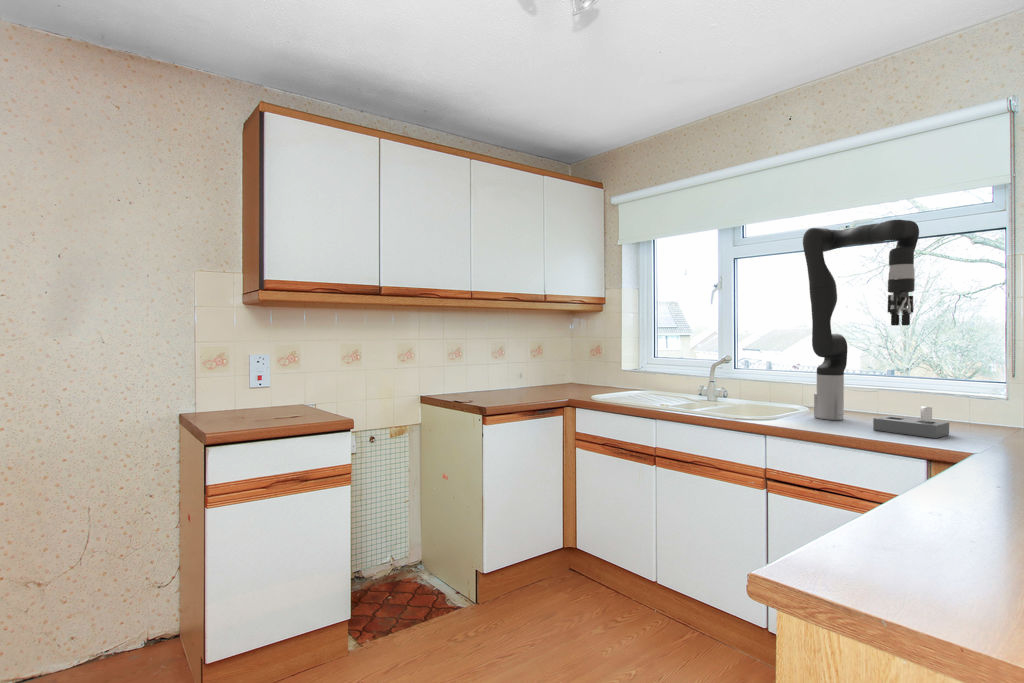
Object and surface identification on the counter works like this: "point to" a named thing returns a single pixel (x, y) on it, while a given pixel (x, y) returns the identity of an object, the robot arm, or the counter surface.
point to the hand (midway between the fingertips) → (900, 325)
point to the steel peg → (926, 415)
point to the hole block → (911, 426)
